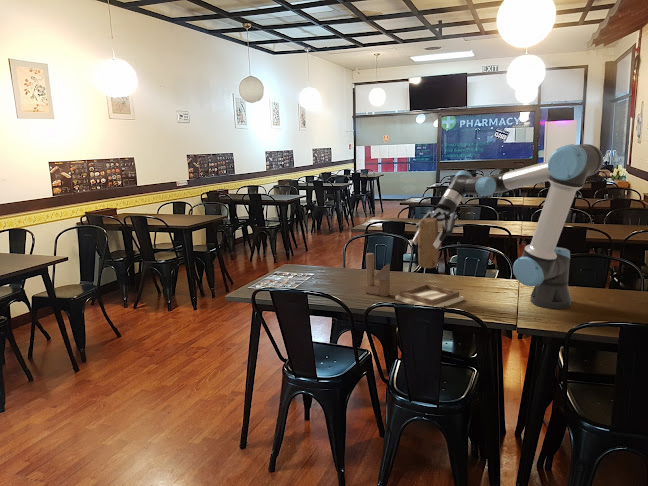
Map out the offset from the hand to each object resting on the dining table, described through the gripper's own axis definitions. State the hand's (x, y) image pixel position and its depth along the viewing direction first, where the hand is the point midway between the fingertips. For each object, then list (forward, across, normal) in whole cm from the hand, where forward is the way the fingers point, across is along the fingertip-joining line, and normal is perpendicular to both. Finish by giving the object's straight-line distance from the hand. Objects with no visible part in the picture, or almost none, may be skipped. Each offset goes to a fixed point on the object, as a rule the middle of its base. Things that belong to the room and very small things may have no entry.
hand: (424, 244), depth 201 cm
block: (+5, 0, -9) cm, 10 cm away
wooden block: (+22, +20, -12) cm, 33 cm away
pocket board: (+15, -1, -19) cm, 24 cm away
